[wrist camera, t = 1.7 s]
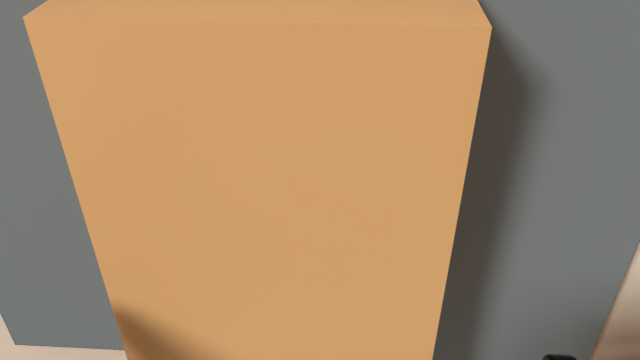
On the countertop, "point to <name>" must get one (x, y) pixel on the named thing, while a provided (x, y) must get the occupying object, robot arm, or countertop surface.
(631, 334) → the countertop surface
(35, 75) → the mat
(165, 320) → the orange flat block
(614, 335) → the countertop surface
